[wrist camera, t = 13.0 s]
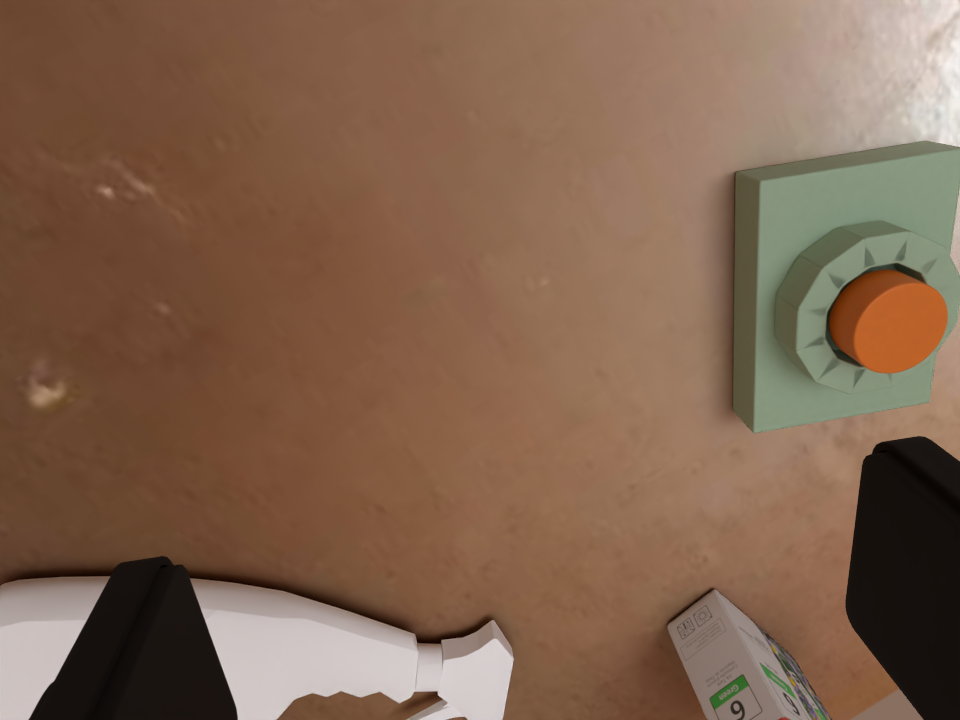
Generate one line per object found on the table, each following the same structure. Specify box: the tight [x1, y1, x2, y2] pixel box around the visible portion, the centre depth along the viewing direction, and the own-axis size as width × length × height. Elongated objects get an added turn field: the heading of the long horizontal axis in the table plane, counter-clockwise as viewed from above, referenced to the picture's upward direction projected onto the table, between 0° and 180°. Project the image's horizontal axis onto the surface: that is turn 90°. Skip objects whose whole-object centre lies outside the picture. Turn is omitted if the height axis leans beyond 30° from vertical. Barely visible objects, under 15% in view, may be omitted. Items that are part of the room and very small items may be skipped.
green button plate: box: [733, 141, 960, 433], centre depth 29 cm, size 11×8×4 cm
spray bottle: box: [0, 576, 514, 720], centre depth 35 cm, size 3×11×25 cm
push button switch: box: [829, 269, 948, 374], centre depth 27 cm, size 4×4×2 cm
